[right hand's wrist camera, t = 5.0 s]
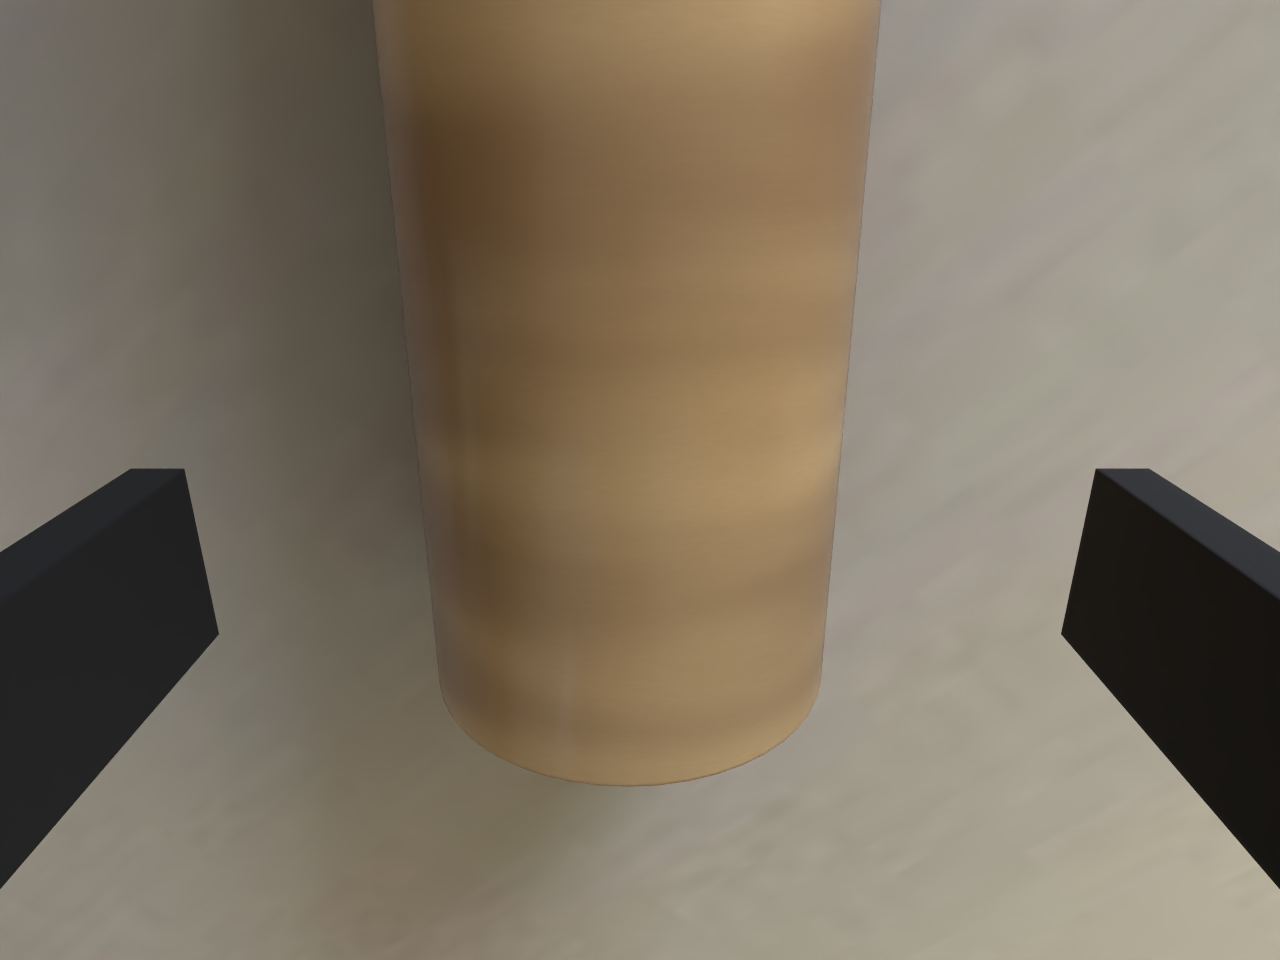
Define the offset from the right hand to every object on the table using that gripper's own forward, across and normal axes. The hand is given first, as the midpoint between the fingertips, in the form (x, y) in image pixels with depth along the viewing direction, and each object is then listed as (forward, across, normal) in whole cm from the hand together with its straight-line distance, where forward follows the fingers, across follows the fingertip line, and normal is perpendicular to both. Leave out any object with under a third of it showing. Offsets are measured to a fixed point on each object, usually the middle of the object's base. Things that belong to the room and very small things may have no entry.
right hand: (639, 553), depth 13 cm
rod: (+8, 0, -7) cm, 10 cm away
